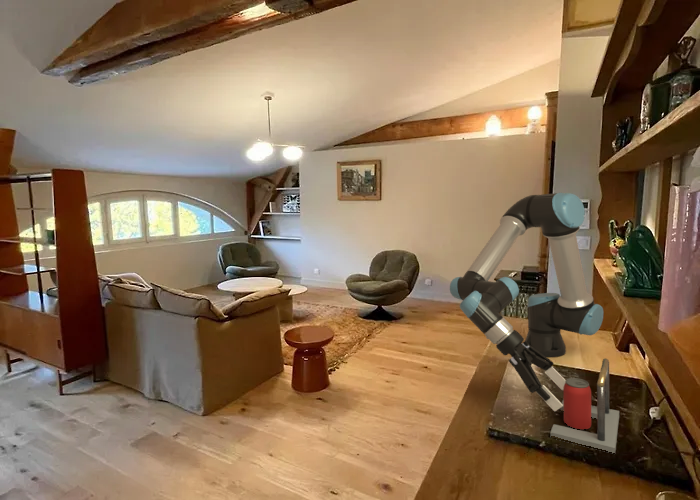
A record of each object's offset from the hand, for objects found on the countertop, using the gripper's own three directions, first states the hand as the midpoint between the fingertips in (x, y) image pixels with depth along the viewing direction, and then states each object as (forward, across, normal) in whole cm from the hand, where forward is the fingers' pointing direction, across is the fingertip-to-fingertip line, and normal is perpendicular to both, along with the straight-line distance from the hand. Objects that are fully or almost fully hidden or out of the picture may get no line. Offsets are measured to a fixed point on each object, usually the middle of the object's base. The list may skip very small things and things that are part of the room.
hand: (562, 397), depth 112 cm
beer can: (+8, 0, -3) cm, 8 cm away
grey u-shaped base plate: (+9, 0, -1) cm, 9 cm away
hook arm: (+12, 0, +2) cm, 12 cm away
